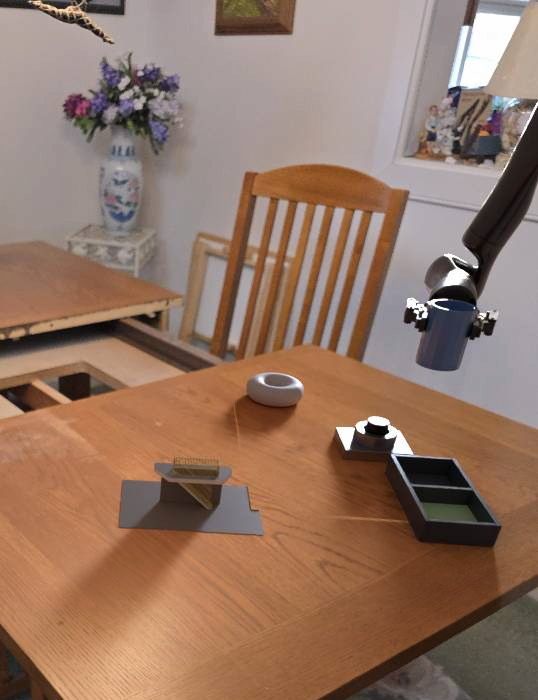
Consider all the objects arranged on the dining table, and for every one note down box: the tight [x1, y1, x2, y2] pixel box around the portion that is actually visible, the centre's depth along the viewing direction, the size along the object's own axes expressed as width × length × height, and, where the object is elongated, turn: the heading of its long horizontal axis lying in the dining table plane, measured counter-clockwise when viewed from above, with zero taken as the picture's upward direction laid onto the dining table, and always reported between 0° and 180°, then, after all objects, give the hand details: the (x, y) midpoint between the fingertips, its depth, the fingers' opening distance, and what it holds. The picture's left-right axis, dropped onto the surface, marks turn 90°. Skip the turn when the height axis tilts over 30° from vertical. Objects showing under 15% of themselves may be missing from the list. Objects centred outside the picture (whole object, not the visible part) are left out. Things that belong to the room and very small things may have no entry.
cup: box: [414, 299, 479, 372], centre depth 107 cm, size 7×7×9 cm
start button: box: [365, 416, 391, 435], centre depth 106 cm, size 3×3×2 cm
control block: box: [333, 420, 415, 464], centre depth 107 cm, size 10×8×4 cm
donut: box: [245, 372, 305, 408], centre depth 122 cm, size 10×4×10 cm
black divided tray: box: [384, 454, 503, 548], centre depth 94 cm, size 9×18×3 cm, turn 177°
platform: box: [118, 456, 265, 536], centre depth 90 cm, size 12×18×7 cm, turn 88°
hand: (447, 329), depth 105 cm, fingers closed on cup, 6 cm apart
